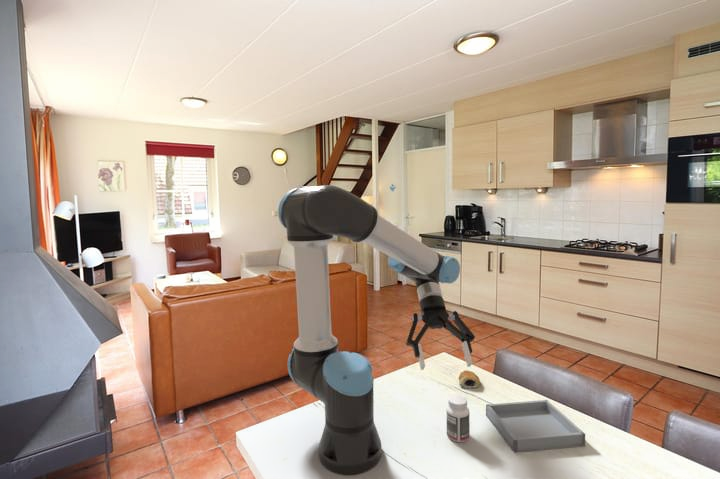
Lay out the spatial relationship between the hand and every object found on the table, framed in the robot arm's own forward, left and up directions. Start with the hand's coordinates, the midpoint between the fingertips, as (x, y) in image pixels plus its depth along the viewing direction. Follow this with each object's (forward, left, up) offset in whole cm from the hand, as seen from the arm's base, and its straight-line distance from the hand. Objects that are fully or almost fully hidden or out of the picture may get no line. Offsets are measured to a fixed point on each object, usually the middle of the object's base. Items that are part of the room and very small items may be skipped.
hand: (446, 366), depth 107 cm
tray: (+20, -10, -14) cm, 26 cm away
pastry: (+13, +17, -15) cm, 26 cm away
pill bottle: (0, -10, -14) cm, 17 cm away
